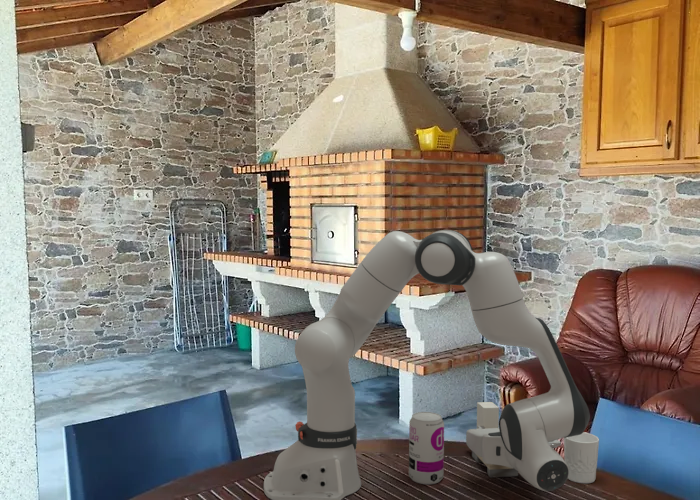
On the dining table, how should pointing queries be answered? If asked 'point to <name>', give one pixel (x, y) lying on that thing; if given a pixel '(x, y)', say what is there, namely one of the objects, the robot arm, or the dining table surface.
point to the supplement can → (426, 448)
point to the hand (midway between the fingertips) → (498, 427)
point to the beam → (496, 468)
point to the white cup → (581, 457)
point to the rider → (487, 415)
